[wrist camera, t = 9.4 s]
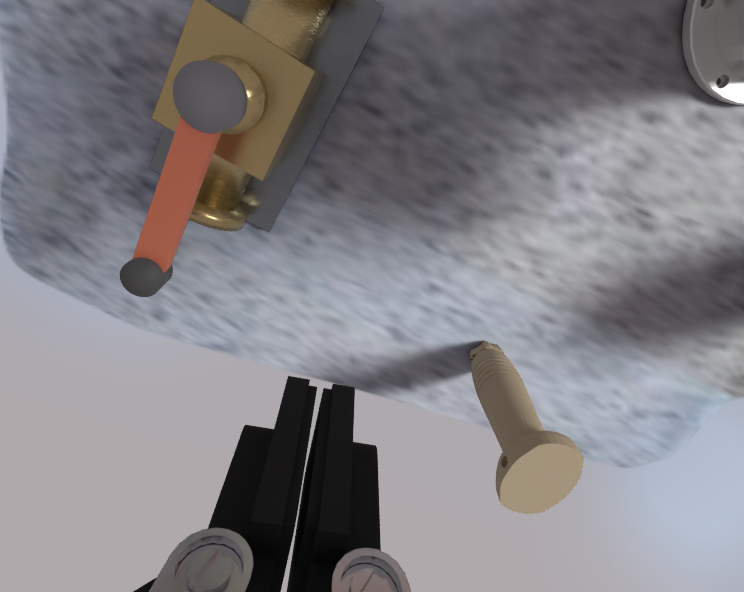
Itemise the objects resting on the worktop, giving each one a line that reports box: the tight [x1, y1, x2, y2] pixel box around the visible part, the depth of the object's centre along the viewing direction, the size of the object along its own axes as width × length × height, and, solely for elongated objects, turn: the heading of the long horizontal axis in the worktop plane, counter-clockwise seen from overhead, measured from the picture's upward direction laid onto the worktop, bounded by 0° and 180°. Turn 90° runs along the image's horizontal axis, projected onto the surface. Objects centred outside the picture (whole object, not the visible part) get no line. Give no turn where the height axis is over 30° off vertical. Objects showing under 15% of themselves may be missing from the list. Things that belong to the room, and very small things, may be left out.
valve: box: [149, 0, 384, 232], centre depth 28 cm, size 18×10×11 cm, turn 149°
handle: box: [470, 342, 584, 514], centre depth 36 cm, size 5×6×15 cm
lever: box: [120, 60, 247, 297], centre depth 23 cm, size 13×3×2 cm, turn 151°
